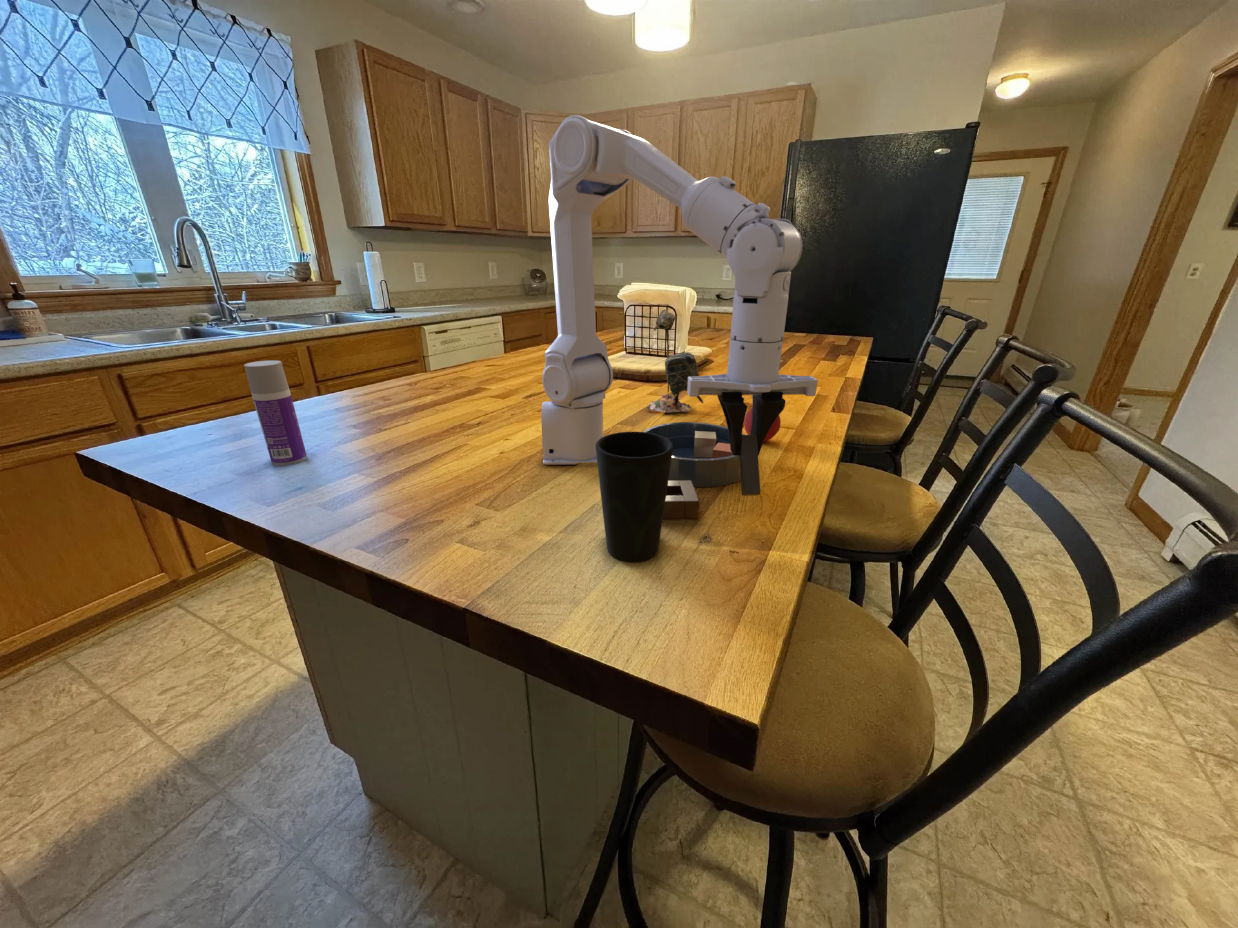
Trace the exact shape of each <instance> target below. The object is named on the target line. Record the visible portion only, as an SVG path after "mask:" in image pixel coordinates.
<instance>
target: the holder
mask: <svg viewBox="0 0 1238 928" xmlns="http://www.w3.org/2000/svg"><path fill="white" fill-rule="evenodd" d="M695 489H696V488H695V487H693V484H692V481H691V480H688V481H668V486H667V493H666V500H665V507H664V514H663V521H694V520H695V521H697V520H699V506H700V499H699V498H698V495H697V492H696V490H695Z"/></svg>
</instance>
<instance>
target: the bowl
mask: <svg viewBox="0 0 1238 928" xmlns="http://www.w3.org/2000/svg"><path fill="white" fill-rule="evenodd" d="M695 431H705V432H716V445H717V444H718V443H725V444H730V437H729V431H728V426H725V425H724V426H723V425H720V424H713V423H707V422H697V421H678V422H667V423H663V424H662V423H661V424H658V425H654V426H651V427H648V428H646V429H645V430H643V431H642V432H647V433H653V434H657V435H660V436H663V437H665V438H667V439H668V440H670V441H671V443H672V444H673V452H672V459H671V465H670V472H669V479H668V481H688V480H691V481H692V484H693V487H694V488H714V487H715V488H716V487H722V486H727V485H730V484H734V483H737V482H739V481H741V475H740V457H739V456H734V455H731V456H727V457H721V458H703V457H694V440H695ZM742 435H746V434H745V433H743V432H742Z"/></svg>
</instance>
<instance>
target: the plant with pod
mask: <svg viewBox="0 0 1238 928" xmlns="http://www.w3.org/2000/svg"><path fill="white" fill-rule="evenodd" d="M675 320H676V316H675V314H673V313H672V312H670V311H668V310H667V309H662V310H661V311H660V313H659V314H658V317H657V319H656V321H655V326H654V328H653V331H654V332H655V331H657V329H661V330H664V331H665V339H666V340H665V341H666V358H665V360H664V368H665V369H664V370H665V373H666V374H665V375H666V379H667V380H666V381H667V394H666V393H662V394H661V398H660V399H658V400H655V401H653V400H651V401H650V404H648V406H647V407H646V409H647V410H650V411H653V412H662V413H664V414H665V413H666V414H668V413H681V412H682V413H689V412H690V410H691V409H692V407H691V405H690V404H689V403H688V404H687V403H686V402H680V400H679V396H680V393H682V392H684V391H685V392H687V386H688V377H693V376H700V373H699V368H698V362H697V360H696V358H695V354H692V353H691V352H688V351H686V352H680V353H675V354H673V355H670V344H669V343H670V341H669V340H670V334H669V333H670V331H671V330H672V328H673V326H674V323H675ZM669 392H670V393H671V394H669ZM696 398H697V399H698V401H699V402H700V403H701V404H704V400H703V399H702V397H701V395H699V396H698V397H696Z"/></svg>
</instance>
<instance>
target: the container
mask: <svg viewBox="0 0 1238 928" xmlns="http://www.w3.org/2000/svg"><path fill="white" fill-rule="evenodd" d="M244 369H245V374H246V378H247V381H248V386H249V389H250V393H251V397H252V401H253V405H254V408H255V411H256V414H257V418H258V421H259V424H260V428H261V432H262V435H263V438H264V443H265V446H266V448H267V452H268V455H269V458H270V462H271V465H273V466H276V467H286V466H292V465H297V464H299V463H303V462H304V461H306V460H307V459H308V454H307V451H306V447H305V443H304V440H303V435H302V432H301V428H300V425H299V424H300V423H299V420H298V415H297V412H296V409H295V405H294V401H293V397H292V394H291V390H290V386H289V383H288V380H287V376H286V373H285V369H284V366H283V363H282V361H281V360H272V359H271V360H259V361H252V362H248V363H244Z"/></svg>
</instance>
